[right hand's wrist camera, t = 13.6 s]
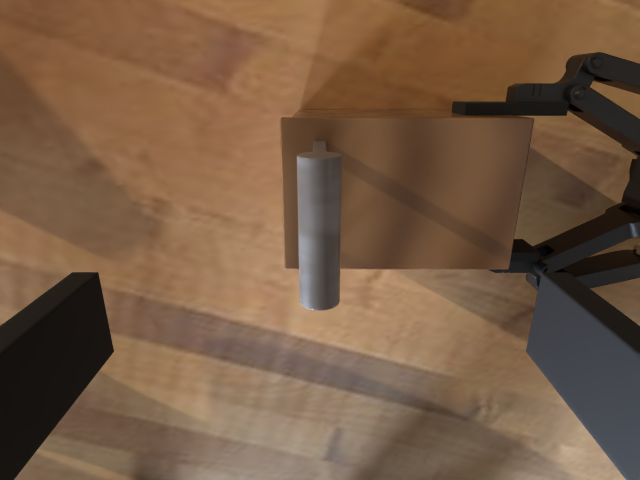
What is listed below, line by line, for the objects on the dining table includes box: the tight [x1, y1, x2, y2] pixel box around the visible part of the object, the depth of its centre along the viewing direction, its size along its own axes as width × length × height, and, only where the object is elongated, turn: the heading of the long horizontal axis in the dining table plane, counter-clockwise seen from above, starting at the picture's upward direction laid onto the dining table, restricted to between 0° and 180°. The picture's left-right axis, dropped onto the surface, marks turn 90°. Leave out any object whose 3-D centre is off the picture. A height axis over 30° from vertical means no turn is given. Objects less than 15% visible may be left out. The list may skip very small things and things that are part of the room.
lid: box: [280, 117, 534, 311], centre depth 22 cm, size 14×9×8 cm, turn 90°
